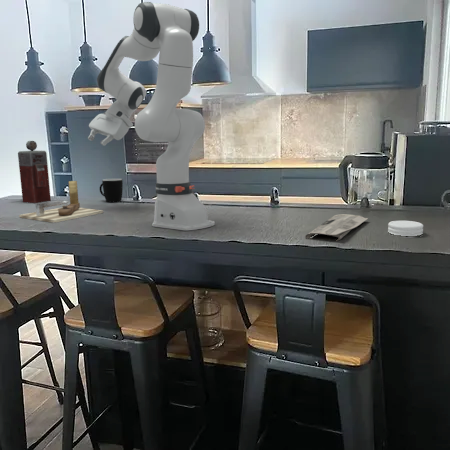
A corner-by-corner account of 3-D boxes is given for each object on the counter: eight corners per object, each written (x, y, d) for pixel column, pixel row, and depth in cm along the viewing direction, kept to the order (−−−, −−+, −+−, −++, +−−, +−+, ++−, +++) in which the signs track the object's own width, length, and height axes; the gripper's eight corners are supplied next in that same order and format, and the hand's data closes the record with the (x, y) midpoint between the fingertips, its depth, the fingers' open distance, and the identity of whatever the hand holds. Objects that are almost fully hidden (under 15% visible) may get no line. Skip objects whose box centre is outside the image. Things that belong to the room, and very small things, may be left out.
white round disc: (427, 233, 144) (428, 222, 144) (415, 239, 137) (416, 228, 136) (395, 229, 151) (396, 218, 150) (382, 235, 144) (382, 223, 143)
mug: (127, 200, 220) (126, 178, 218) (115, 203, 212) (114, 180, 210) (107, 199, 225) (105, 178, 223) (94, 202, 217) (92, 180, 215)
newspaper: (333, 220, 170) (333, 210, 169) (369, 222, 164) (369, 212, 164) (303, 241, 139) (303, 229, 138) (346, 245, 133) (346, 232, 133)
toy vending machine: (38, 203, 215) (32, 141, 210) (22, 202, 221) (16, 141, 215) (54, 200, 223) (49, 140, 217) (38, 199, 228) (33, 140, 223)
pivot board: (103, 212, 188) (103, 210, 188) (54, 222, 170) (53, 220, 170) (69, 208, 200) (68, 206, 200) (19, 217, 181) (19, 214, 181)
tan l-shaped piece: (70, 214, 177) (67, 185, 175) (56, 215, 177) (54, 185, 175) (82, 207, 193) (80, 180, 191) (70, 207, 193) (67, 181, 191)
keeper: (74, 214, 181) (73, 200, 180) (52, 218, 173) (51, 204, 172) (58, 211, 186) (57, 198, 185) (36, 215, 178) (35, 202, 177)
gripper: (98, 106, 197) (77, 132, 194) (126, 115, 184) (104, 142, 181) (107, 117, 202) (87, 141, 199) (135, 125, 189) (114, 152, 186)
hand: (95, 142), depth 190 cm, fingers open, 8 cm apart
